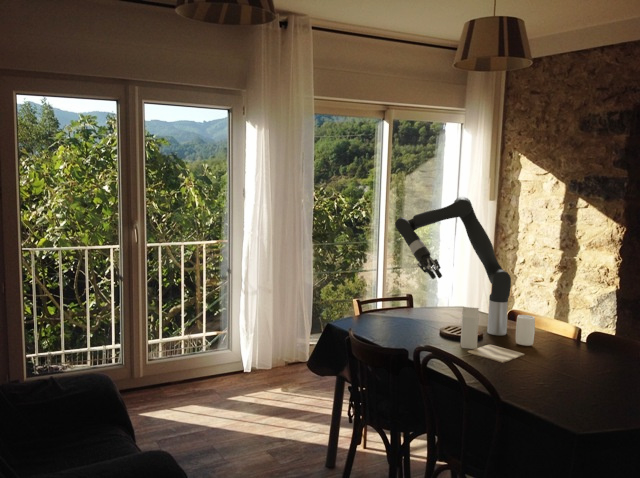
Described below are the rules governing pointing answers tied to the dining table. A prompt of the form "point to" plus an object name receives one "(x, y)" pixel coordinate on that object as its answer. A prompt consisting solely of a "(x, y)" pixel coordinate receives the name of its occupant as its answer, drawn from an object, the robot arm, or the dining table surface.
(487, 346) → the birch board
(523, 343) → the cup
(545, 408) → the dining table surface
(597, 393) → the dining table surface
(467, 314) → the milk carton
